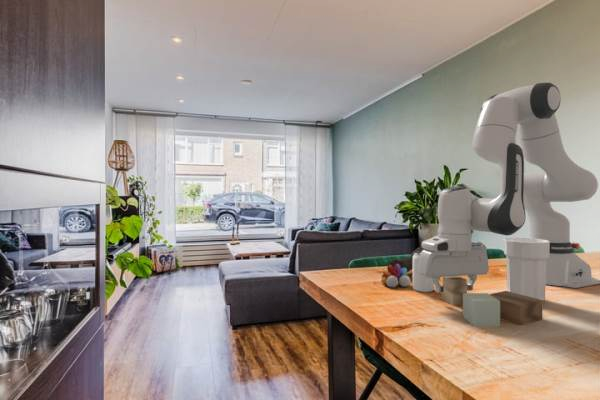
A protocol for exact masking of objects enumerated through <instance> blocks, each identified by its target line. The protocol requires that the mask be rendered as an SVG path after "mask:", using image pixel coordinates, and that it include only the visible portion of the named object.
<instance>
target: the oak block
mask: <svg viewBox="0 0 600 400" xmlns="http://www.w3.org/2000/svg"><path fill="white" fill-rule="evenodd" d="M467 282H468V279H466V278H465V277H461V276H449V277H442V286H444V289H443V290H444V292H442V301H443V302H445V303H448V304H449V305H452V306H458V305H459V306H462V305H463V293H467V292H468V291H467Z"/></svg>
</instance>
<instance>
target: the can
mask: <svg viewBox="0 0 600 400" xmlns="http://www.w3.org/2000/svg"><path fill="white" fill-rule="evenodd" d="M413 252H414V251H413ZM420 254H421V252H414V255H413V269H412V289H413V290H414V291H416V292H418V293H431V292H433V291H434V290H435V284H434V283H433V281H432V277H431V278H428V277H425V276H423V275H421V273H420V271H419V261H420Z"/></svg>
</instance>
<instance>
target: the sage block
mask: <svg viewBox="0 0 600 400" xmlns="http://www.w3.org/2000/svg"><path fill="white" fill-rule="evenodd" d="M489 294H490V293H485V292H481V293H479V292H478V293H477V292H475V293H473V292H472V293H471V292H468V293H463V304H462V317H463V318H464V317H465V318H466V319H465V318H464V319H465V320H466V321H468V322H469V323H470V324H471V325H472V326H474V327H475V326H476V327H500V326H501V319H500V301H499V300H498V299H496V298H494V297H493V296H491V295H489Z"/></svg>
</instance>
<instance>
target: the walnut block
mask: <svg viewBox="0 0 600 400" xmlns="http://www.w3.org/2000/svg"><path fill="white" fill-rule="evenodd" d="M488 294H489V295H491V296H493V297H494V298H496V299H498V300H499V301H500V321H501V320H502V321H504V322H508V323H511V324H514V325H517V326H520V327H522V326H525V325H528V324H532V323H534V322H538V321H542V320H543V303H542V300H540V299H536V298H532V297H528V296H524V295H520V294H517V293H513V292H509V291H508V290H503V291H498V292H494V293H488Z"/></svg>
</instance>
